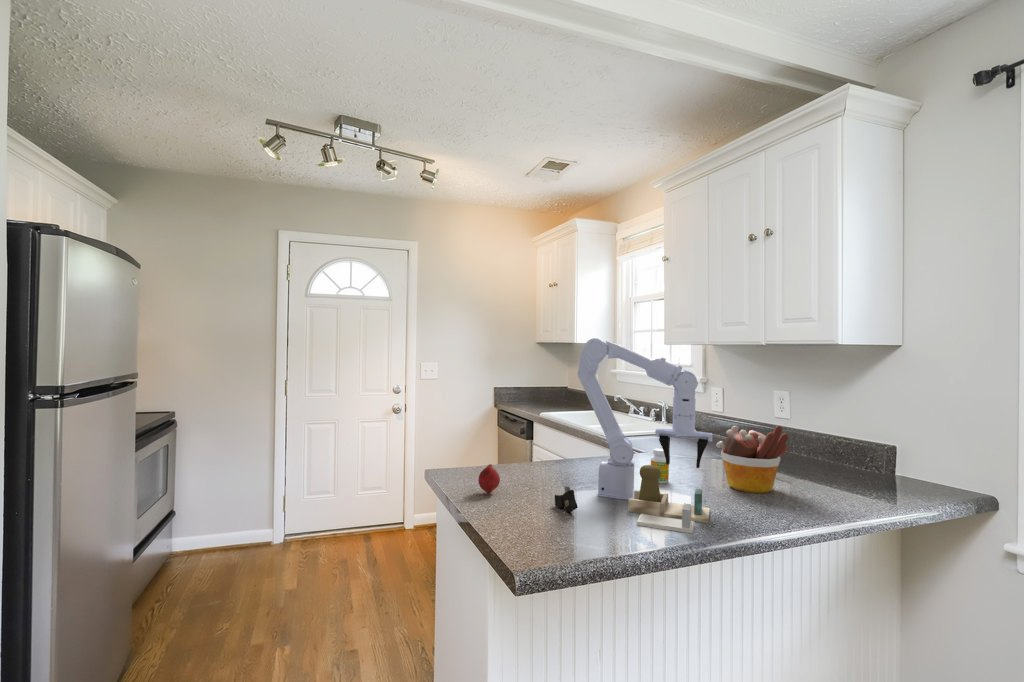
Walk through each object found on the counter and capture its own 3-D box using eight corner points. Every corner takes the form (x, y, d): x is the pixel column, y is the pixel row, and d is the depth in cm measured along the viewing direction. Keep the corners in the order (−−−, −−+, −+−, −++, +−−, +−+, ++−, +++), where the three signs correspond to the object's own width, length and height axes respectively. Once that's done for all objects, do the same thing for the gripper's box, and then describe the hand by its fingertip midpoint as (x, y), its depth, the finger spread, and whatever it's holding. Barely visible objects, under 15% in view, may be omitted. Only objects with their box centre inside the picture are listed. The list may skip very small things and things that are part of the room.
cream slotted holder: (628, 511, 125) (628, 487, 125) (634, 501, 134) (635, 479, 134) (708, 523, 118) (709, 498, 118) (709, 511, 127) (710, 487, 127)
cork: (659, 506, 130) (659, 463, 131) (664, 514, 124) (665, 469, 125) (635, 505, 131) (636, 462, 131) (639, 512, 125) (640, 468, 125)
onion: (489, 497, 134) (490, 467, 134) (473, 493, 138) (474, 464, 138) (503, 493, 139) (504, 463, 139) (487, 489, 142) (488, 460, 143)
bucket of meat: (705, 482, 156) (706, 418, 157) (743, 478, 163) (744, 416, 163) (760, 501, 138) (762, 427, 138) (801, 495, 145) (802, 425, 145)
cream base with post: (636, 524, 115) (637, 503, 115) (640, 517, 121) (641, 497, 121) (692, 533, 111) (693, 511, 111) (694, 525, 116) (694, 504, 116)
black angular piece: (555, 518, 127) (550, 496, 130) (563, 517, 128) (558, 495, 131) (569, 508, 120) (564, 484, 123) (578, 507, 121) (572, 484, 124)
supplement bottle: (656, 483, 153) (657, 451, 154) (647, 479, 159) (647, 448, 159) (672, 483, 155) (672, 451, 155) (662, 478, 160) (662, 447, 160)
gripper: (654, 414, 136) (653, 465, 136) (712, 418, 130) (711, 471, 130) (657, 411, 143) (656, 460, 142) (713, 415, 137) (712, 466, 136)
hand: (682, 465), depth 137 cm, fingers open, 7 cm apart
